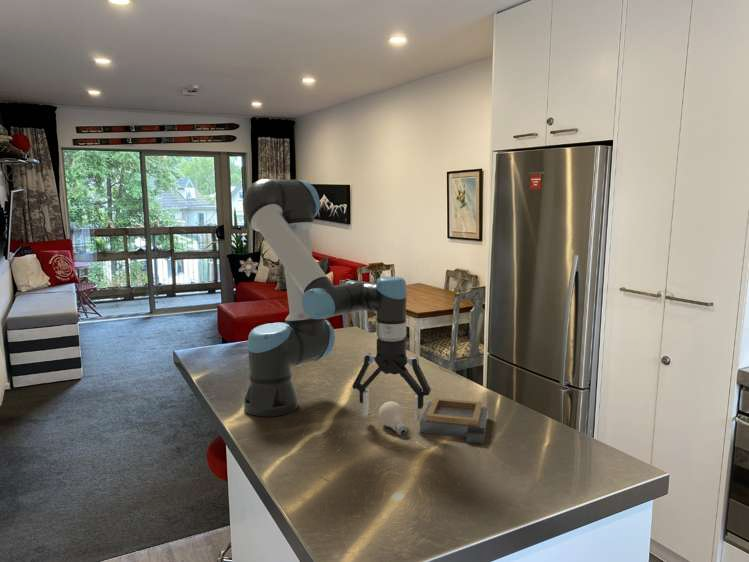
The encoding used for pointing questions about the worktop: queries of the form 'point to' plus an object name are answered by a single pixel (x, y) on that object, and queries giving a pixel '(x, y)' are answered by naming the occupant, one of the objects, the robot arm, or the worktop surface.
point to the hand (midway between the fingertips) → (391, 417)
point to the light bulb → (393, 417)
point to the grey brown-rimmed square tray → (455, 419)
